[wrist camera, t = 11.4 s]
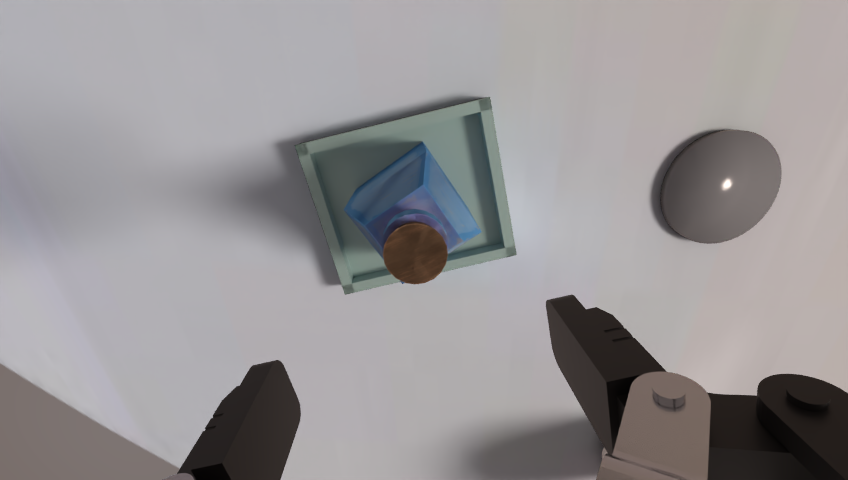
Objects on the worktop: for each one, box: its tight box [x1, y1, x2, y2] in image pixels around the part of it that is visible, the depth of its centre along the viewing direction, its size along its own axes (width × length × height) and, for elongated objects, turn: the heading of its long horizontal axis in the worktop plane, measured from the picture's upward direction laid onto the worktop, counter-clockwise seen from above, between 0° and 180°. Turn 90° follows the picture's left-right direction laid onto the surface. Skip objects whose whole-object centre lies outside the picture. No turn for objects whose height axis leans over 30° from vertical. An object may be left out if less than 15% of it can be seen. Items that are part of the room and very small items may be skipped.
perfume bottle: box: [344, 141, 481, 284], centre depth 25 cm, size 6×6×12 cm
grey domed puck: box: [660, 130, 781, 244], centre depth 31 cm, size 9×9×1 cm
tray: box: [295, 97, 516, 294], centre depth 30 cm, size 12×14×2 cm
